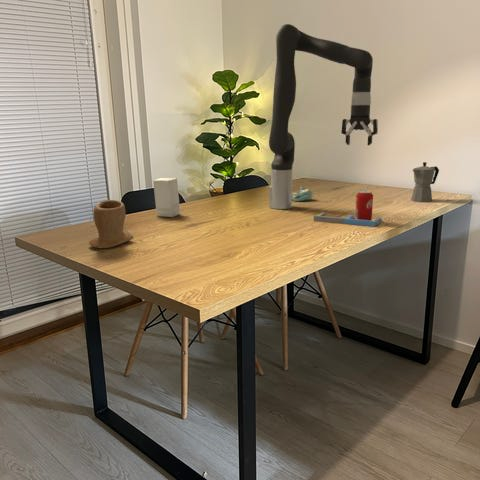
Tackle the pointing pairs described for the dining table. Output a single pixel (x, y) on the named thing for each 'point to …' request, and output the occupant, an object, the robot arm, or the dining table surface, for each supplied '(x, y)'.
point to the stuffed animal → (302, 195)
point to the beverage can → (364, 205)
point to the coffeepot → (423, 183)
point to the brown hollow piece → (110, 224)
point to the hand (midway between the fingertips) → (358, 145)
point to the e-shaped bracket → (346, 220)
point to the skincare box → (166, 197)
